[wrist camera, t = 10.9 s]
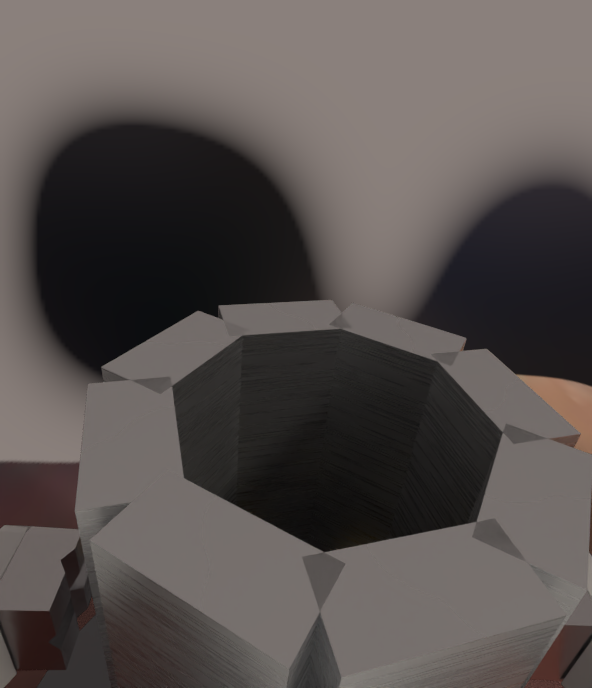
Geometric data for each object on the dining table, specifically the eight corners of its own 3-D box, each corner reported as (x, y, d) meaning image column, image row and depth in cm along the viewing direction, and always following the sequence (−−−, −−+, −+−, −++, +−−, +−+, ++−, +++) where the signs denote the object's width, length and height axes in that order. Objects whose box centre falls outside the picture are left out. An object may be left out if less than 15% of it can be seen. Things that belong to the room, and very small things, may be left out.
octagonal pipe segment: (345, 623, 17) (427, 295, 10) (447, 897, 11) (731, 569, 5) (143, 672, 15) (95, 311, 9) (153, 1025, 10) (49, 759, 3)
